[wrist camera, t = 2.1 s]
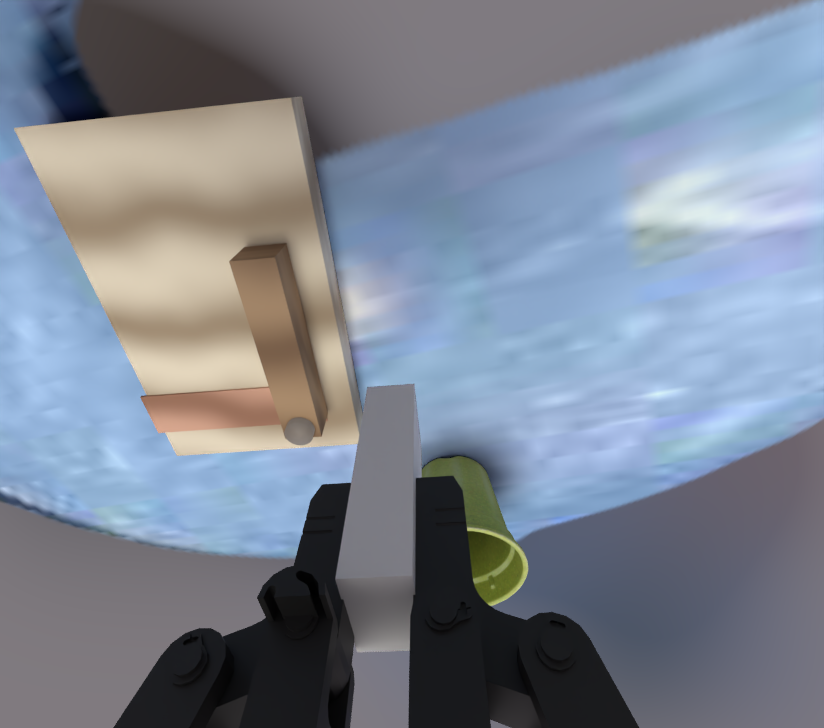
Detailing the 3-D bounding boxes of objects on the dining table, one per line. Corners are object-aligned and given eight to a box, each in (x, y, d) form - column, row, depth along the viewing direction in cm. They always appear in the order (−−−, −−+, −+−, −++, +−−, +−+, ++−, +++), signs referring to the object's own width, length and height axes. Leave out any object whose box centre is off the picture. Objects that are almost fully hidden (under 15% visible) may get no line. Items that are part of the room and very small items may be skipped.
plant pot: (376, 491, 39) (367, 585, 32) (437, 420, 35) (442, 510, 28) (463, 529, 42) (473, 624, 35) (529, 468, 38) (557, 561, 30)
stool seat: (41, 125, 24) (3, 129, 22) (302, 96, 24) (290, 97, 21) (186, 434, 36) (171, 457, 34) (364, 422, 35) (360, 445, 33)
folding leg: (328, 414, 31) (320, 444, 29) (294, 417, 31) (283, 446, 29) (286, 243, 25) (271, 261, 22) (244, 247, 25) (224, 265, 23)
